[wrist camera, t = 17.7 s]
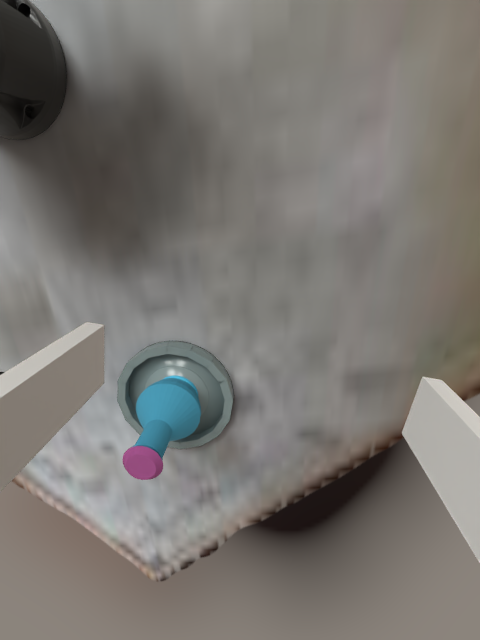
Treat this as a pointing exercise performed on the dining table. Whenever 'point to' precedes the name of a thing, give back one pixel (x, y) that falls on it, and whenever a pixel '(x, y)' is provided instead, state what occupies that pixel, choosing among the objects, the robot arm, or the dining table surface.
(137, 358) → the round dish
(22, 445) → the robot arm
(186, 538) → the dining table surface
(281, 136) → the dining table surface
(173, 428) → the perfume bottle
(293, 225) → the dining table surface
